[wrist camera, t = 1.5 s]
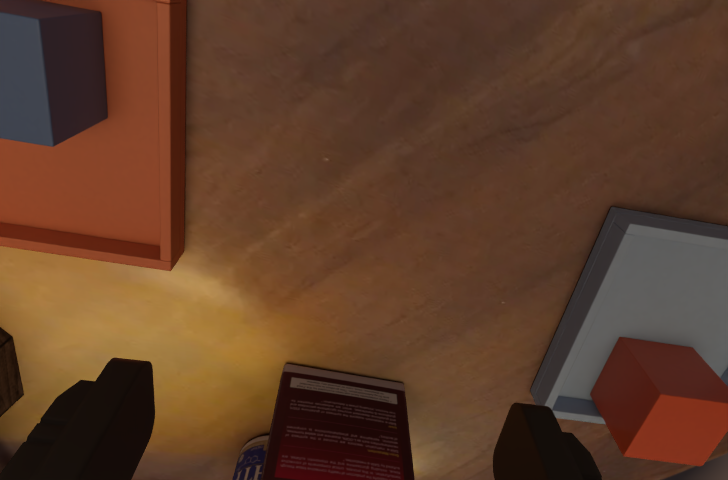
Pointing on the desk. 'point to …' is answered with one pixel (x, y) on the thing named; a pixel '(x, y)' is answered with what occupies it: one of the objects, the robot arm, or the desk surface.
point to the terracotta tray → (112, 152)
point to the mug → (8, 374)
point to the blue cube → (50, 71)
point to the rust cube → (661, 402)
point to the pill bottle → (251, 459)
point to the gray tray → (638, 304)
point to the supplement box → (338, 428)
